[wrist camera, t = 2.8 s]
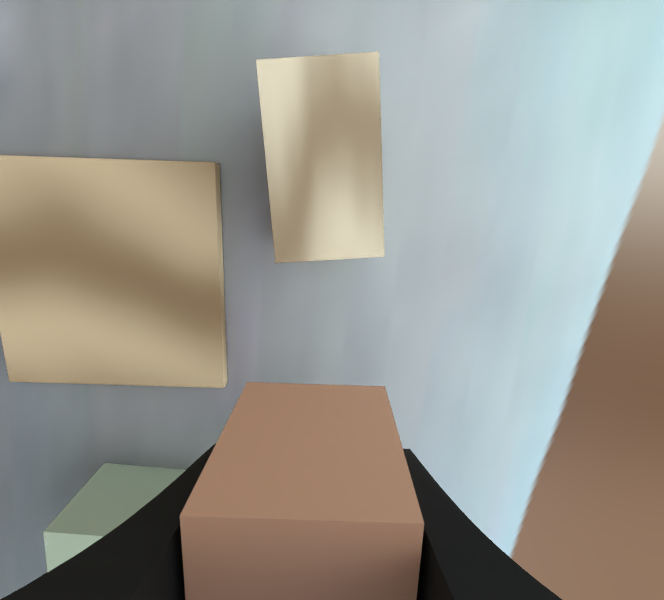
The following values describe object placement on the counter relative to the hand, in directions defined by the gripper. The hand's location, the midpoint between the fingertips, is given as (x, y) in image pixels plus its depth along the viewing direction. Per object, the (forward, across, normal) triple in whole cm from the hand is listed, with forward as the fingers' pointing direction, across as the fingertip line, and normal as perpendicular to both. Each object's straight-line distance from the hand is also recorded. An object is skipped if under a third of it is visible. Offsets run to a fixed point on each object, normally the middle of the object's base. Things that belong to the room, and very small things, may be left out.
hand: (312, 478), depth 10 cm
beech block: (+4, +1, -8) cm, 9 cm away
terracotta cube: (+1, 0, 0) cm, 1 cm away
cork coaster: (+6, +8, -4) cm, 11 cm away
